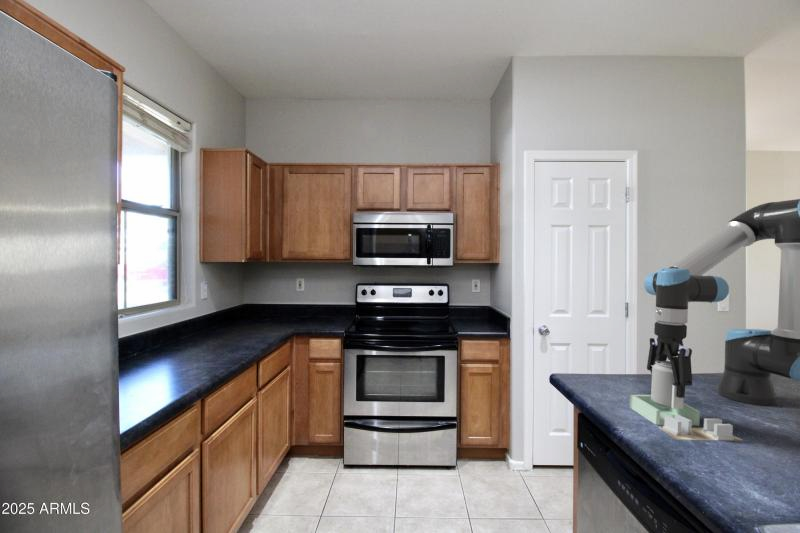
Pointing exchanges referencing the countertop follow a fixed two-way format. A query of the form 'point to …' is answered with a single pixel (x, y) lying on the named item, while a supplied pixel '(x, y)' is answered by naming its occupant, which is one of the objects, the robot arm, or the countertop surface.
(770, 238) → the robot arm
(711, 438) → the board
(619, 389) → the countertop surface
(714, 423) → the clip
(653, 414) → the green open box
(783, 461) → the countertop surface
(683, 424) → the clip
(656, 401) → the can
